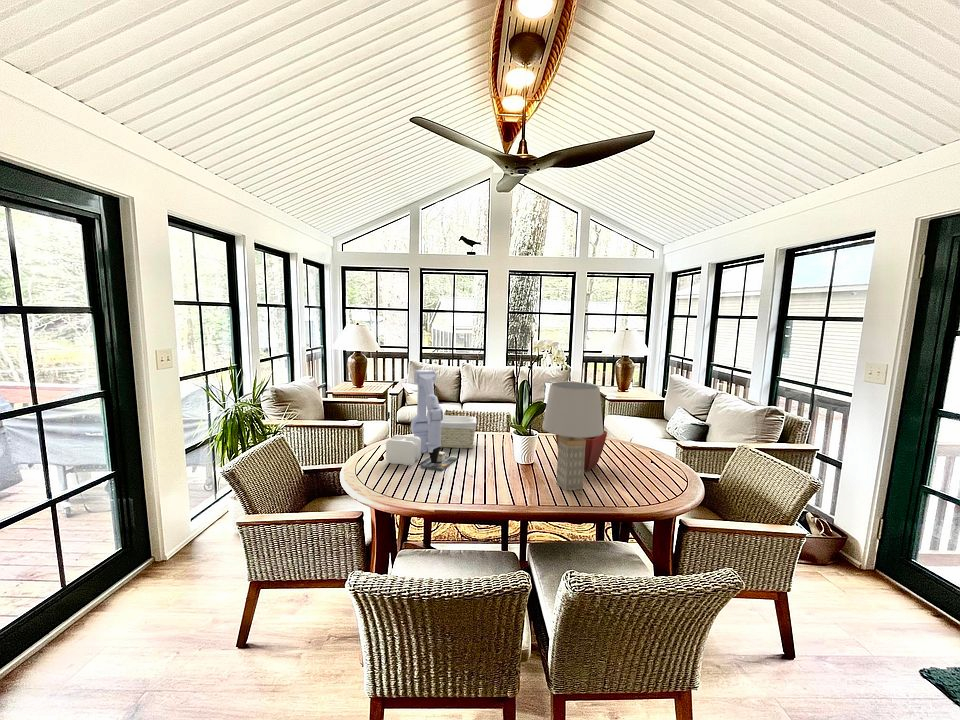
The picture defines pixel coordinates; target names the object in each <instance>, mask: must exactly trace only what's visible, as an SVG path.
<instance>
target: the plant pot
mask: <svg viewBox="0 0 960 720" xmlns="http://www.w3.org/2000/svg"><path fill="white" fill-rule="evenodd" d="M607 435H608V431H606V430H603V434H602V435H600V436H596V437H588V438H583V439H585V440H586V445H585V459H584V472H588V471H589V469H590V470H591V469H593V468H594V467H595V466H597V464H598V463H599V462H600V461H599V460H600V458H601V455H602V453H603V450H604V446H605V443H606V440H607ZM558 436H560V435H555V439H556V440H555V441H556V447H557V448H558Z"/></svg>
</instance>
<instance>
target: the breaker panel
mask: <svg viewBox="0 0 960 720" xmlns="http://www.w3.org/2000/svg"><path fill="white" fill-rule="evenodd" d="M455 462H458V457H457V456H450V455H449V456H448V455H445V461H443V462H437V463H436V464H435V463H431V459H430V460H428V461H426V462H425V463H423V464H422V465H421V466H420V468H421V469H427V470H433V471H437V472H443V471H444V470H446V469H447V468H449V467H450V466H452V464H454V463H455Z"/></svg>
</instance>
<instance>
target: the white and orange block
mask: <svg viewBox="0 0 960 720" xmlns="http://www.w3.org/2000/svg"><path fill="white" fill-rule="evenodd" d="M445 456H446V452H445V451H440V452H439V455H438V459H437V462H443V461H445Z"/></svg>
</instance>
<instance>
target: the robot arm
mask: <svg viewBox="0 0 960 720" xmlns="http://www.w3.org/2000/svg"><path fill="white" fill-rule="evenodd" d="M413 375H414V376H413V382H414V383H413V384H414V385H417V406H416V407H417V410H416V415H414V417H412V418H411V423H410V431H411V433H412V434H413V436H415V437H419V438H420V439H421V454H424V453H428V454H429V457H430V458H431V463H435V464H436V463H437V459H438V455H439V452H441V449H442V447H440V446H441V421H442V420H443V415H444V412H443V408H442V407H441V406H440V403H439V399H438V396H437V395H435V389H434V384H435V383H436V382H435V381H436V378H437V375H436V371H435V369H415V371H414V373H413Z"/></svg>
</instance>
